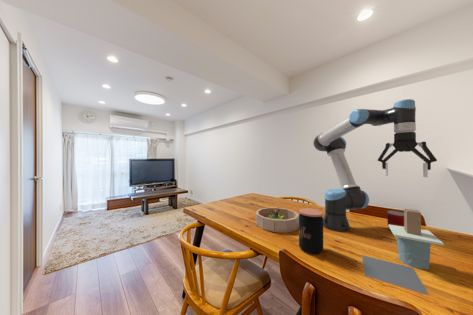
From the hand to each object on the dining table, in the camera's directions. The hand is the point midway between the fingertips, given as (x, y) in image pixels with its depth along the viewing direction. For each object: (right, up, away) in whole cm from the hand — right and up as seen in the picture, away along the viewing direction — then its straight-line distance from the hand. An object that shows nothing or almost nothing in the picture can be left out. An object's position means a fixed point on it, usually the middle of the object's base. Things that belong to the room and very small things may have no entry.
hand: (405, 176), depth 82 cm
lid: (-9, -23, -12) cm, 27 cm away
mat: (-24, -35, -18) cm, 46 cm away
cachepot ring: (-55, -35, +31) cm, 72 cm away
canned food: (+15, -35, +20) cm, 43 cm away
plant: (-55, -36, +29) cm, 72 cm away
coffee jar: (-46, -35, -1) cm, 58 cm away
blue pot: (-9, -35, -12) cm, 38 cm away
